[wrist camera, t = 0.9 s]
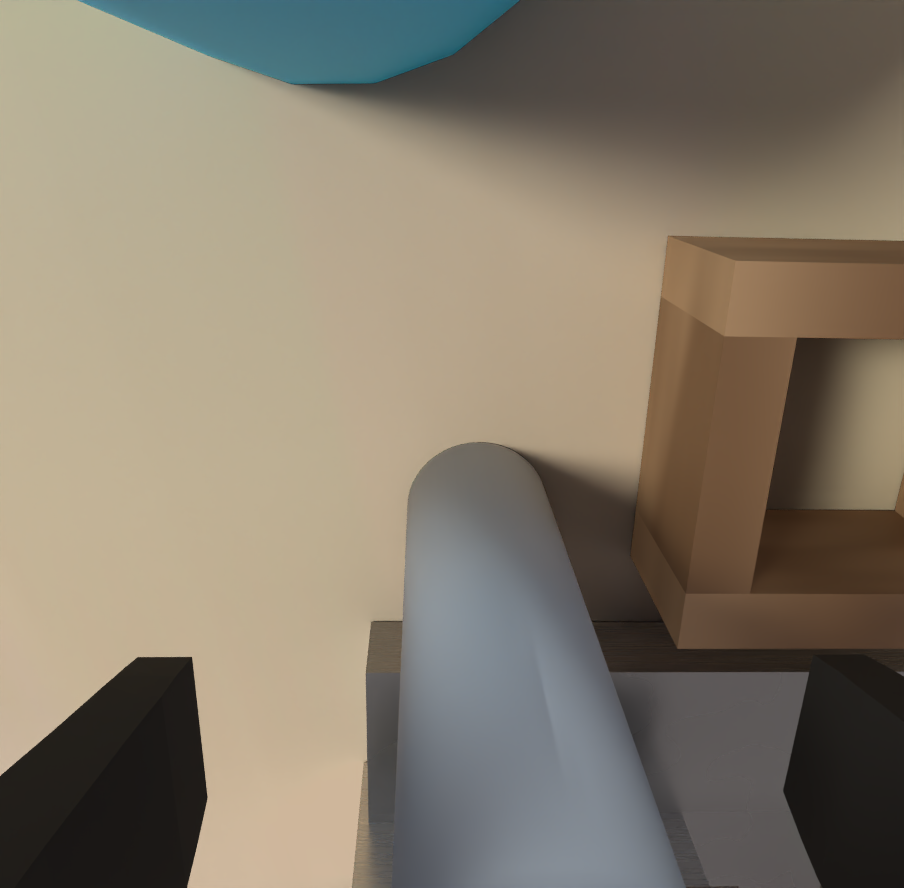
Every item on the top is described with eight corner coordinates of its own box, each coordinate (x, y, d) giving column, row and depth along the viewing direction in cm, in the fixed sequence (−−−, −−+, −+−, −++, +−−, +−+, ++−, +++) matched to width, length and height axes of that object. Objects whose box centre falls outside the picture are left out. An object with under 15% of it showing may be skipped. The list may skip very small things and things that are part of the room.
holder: (1018, 243, 13) (1178, 270, 10) (933, 557, 15) (1046, 648, 13) (668, 235, 13) (735, 260, 10) (630, 555, 15) (677, 648, 12)
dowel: (550, 442, 14) (735, 868, 6) (541, 568, 15) (688, 1091, 7) (407, 441, 14) (386, 874, 6) (407, 568, 15) (387, 1100, 7)
